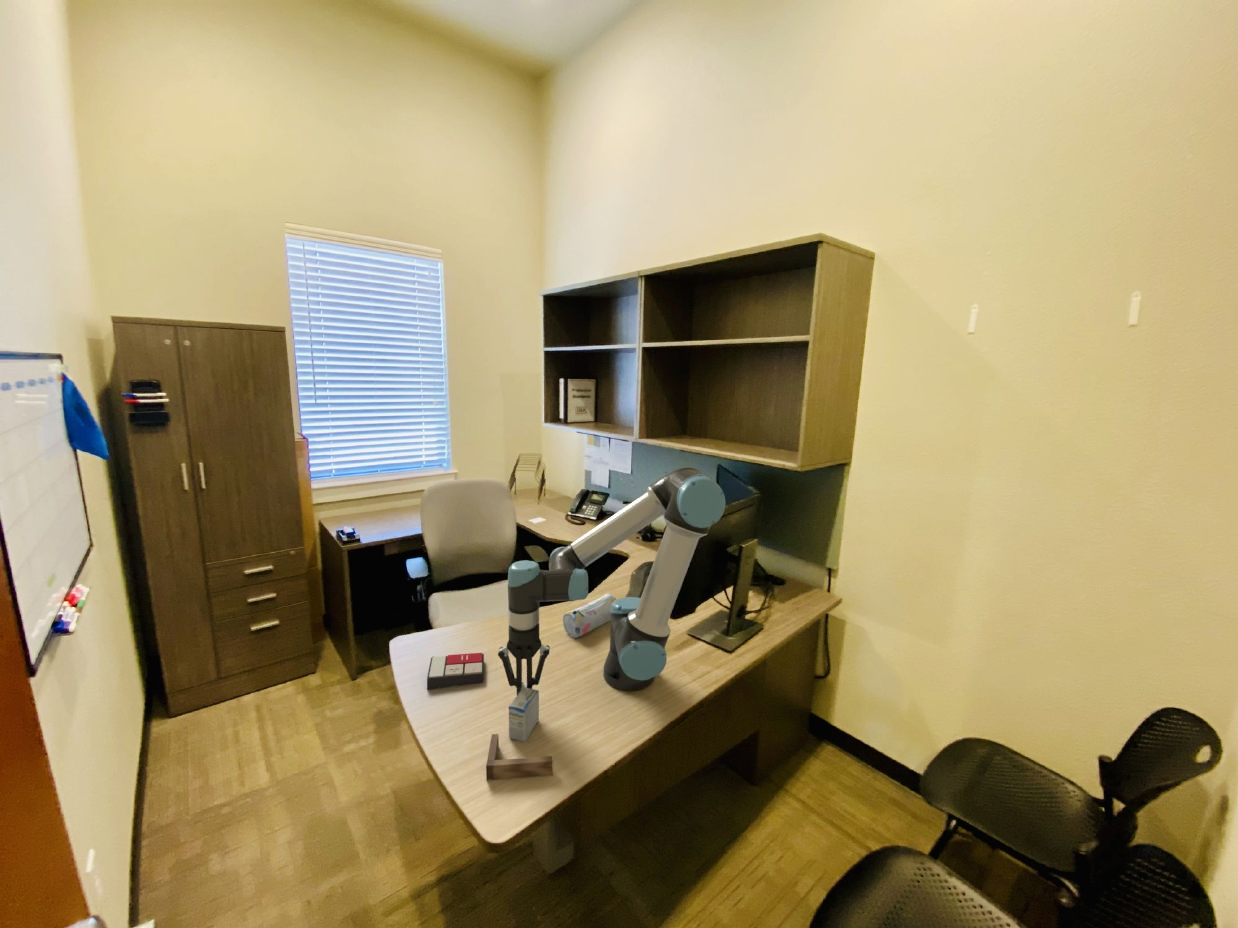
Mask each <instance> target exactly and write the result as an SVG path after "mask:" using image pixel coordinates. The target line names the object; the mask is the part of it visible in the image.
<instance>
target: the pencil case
mask: <svg viewBox="0 0 1238 928" xmlns="http://www.w3.org/2000/svg"><path fill="white" fill-rule="evenodd" d="M615 600H617V598H616V597H615V596H614V594H611V593H605V594H603V595H602V596H600V597H598V598H597V599H594V600H592V601H590V602H587V603H586V604H584V605H582V606H580V607H577V608H574V609H573V610H569V611H567V612H565V613H564V614H563V616H562V624H563V629H564V630H565V632H566V634H568V635H569V636H570V637H572V638H574V639H577V638H580V637H582V636H584V635H587V634H588V633H590V632H591V631H593V630H594V629H597V628H598V627H601V626H602V625H604V624H606V623H608V622H611V613H610V611H611V605H612V603H613V602H614V601H615Z"/></svg>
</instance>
